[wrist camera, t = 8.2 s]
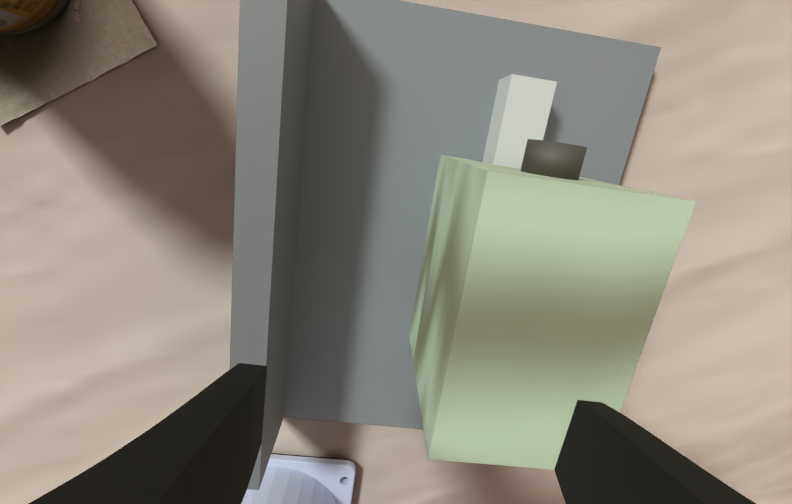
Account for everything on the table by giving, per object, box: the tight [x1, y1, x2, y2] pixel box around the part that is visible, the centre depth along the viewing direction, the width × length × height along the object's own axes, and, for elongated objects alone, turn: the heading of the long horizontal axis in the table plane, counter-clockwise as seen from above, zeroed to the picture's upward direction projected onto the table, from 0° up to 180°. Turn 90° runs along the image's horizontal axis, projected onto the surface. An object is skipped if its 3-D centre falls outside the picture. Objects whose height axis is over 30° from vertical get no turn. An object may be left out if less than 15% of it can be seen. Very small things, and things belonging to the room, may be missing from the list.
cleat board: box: [230, 0, 661, 490], centre depth 15 cm, size 18×14×5 cm
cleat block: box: [409, 139, 696, 470], centre depth 13 cm, size 9×5×7 cm, turn 172°
